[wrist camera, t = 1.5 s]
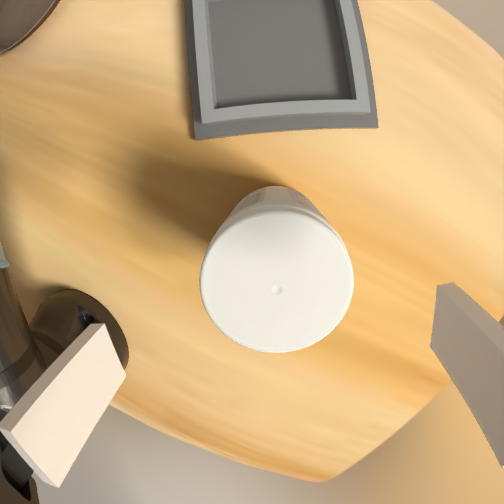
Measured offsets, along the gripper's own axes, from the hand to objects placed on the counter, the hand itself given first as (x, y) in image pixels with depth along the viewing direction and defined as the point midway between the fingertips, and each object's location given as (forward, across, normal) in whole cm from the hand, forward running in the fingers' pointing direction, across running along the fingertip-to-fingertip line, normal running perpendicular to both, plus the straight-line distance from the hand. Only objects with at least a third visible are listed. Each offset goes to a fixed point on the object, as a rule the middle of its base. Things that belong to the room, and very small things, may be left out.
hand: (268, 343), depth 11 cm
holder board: (+22, +3, +18) cm, 28 cm away
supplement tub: (+22, 0, -1) cm, 22 cm away
